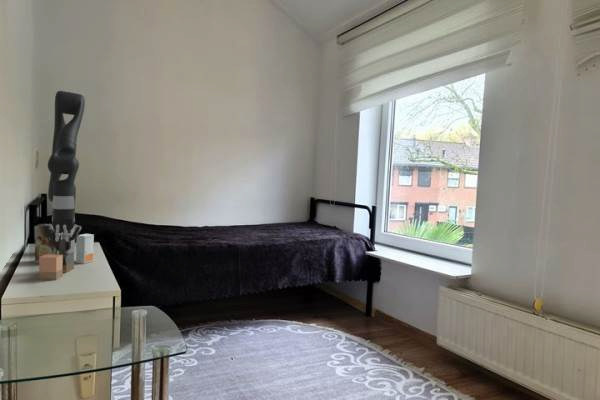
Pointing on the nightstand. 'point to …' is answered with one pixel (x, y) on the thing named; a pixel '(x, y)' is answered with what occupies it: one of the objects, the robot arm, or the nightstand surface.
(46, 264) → the peach rectangular block
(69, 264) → the sleeve
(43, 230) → the coffee box
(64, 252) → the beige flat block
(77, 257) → the skincare box
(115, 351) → the nightstand surface
